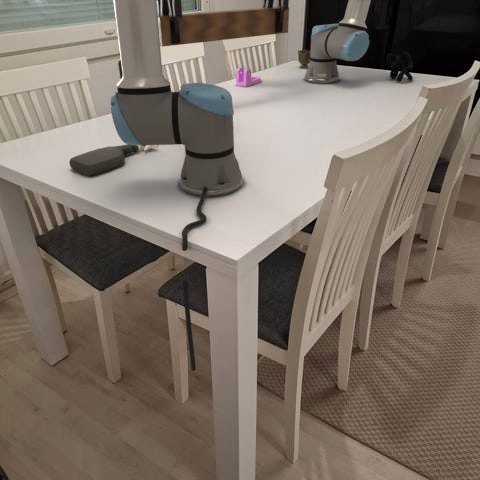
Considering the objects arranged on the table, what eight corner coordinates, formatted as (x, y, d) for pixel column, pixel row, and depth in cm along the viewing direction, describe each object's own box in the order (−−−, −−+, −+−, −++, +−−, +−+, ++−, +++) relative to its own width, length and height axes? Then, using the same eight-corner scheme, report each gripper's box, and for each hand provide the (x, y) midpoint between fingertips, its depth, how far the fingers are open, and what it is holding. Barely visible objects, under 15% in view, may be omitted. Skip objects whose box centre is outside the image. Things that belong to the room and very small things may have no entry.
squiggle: (400, 92, 202) (376, 71, 205) (417, 76, 202) (392, 56, 205) (405, 81, 191) (380, 59, 194) (423, 64, 191) (397, 42, 194)
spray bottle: (67, 168, 120) (139, 144, 136) (91, 178, 114) (163, 151, 130) (65, 157, 118) (137, 134, 134) (89, 167, 112) (162, 142, 128)
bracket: (246, 86, 195) (246, 69, 191) (236, 85, 197) (235, 68, 194) (263, 80, 203) (263, 64, 200) (253, 79, 206) (253, 63, 202)
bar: (162, 46, 140) (159, 17, 135) (156, 44, 143) (153, 16, 139) (288, 32, 164) (289, 7, 159) (280, 31, 167) (281, 6, 163)
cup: (294, 68, 226) (295, 51, 222) (300, 65, 232) (301, 48, 227) (308, 69, 223) (309, 52, 219) (313, 66, 229) (315, 49, 224)
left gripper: (190, -45, 126) (195, 44, 139) (162, -44, 139) (170, 38, 151) (166, -44, 123) (174, 47, 135) (140, -43, 135) (149, 40, 148)
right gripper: (301, -46, 146) (298, 32, 158) (268, -44, 158) (268, 28, 171) (283, -45, 142) (281, 34, 155) (251, -44, 155) (252, 29, 167)
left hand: (172, 42), depth 143 cm, fingers closed on bar, 5 cm apart
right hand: (274, 31), depth 163 cm, fingers closed on bar, 5 cm apart
